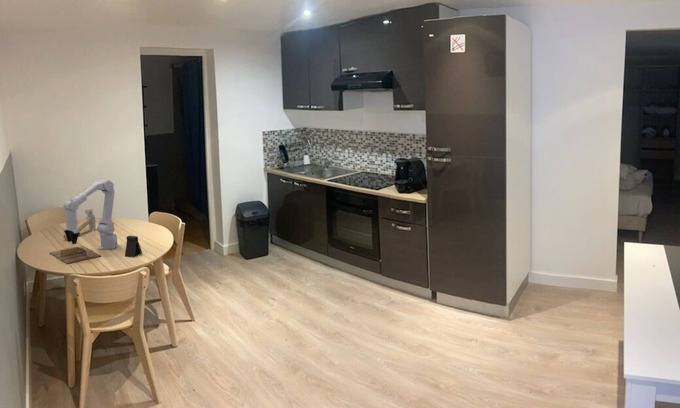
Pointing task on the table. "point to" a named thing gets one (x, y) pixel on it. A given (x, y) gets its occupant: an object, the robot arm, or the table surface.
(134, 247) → the phone stand
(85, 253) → the strip
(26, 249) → the table surface
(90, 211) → the hammer
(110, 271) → the table surface
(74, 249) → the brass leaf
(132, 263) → the table surface
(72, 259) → the walnut board
